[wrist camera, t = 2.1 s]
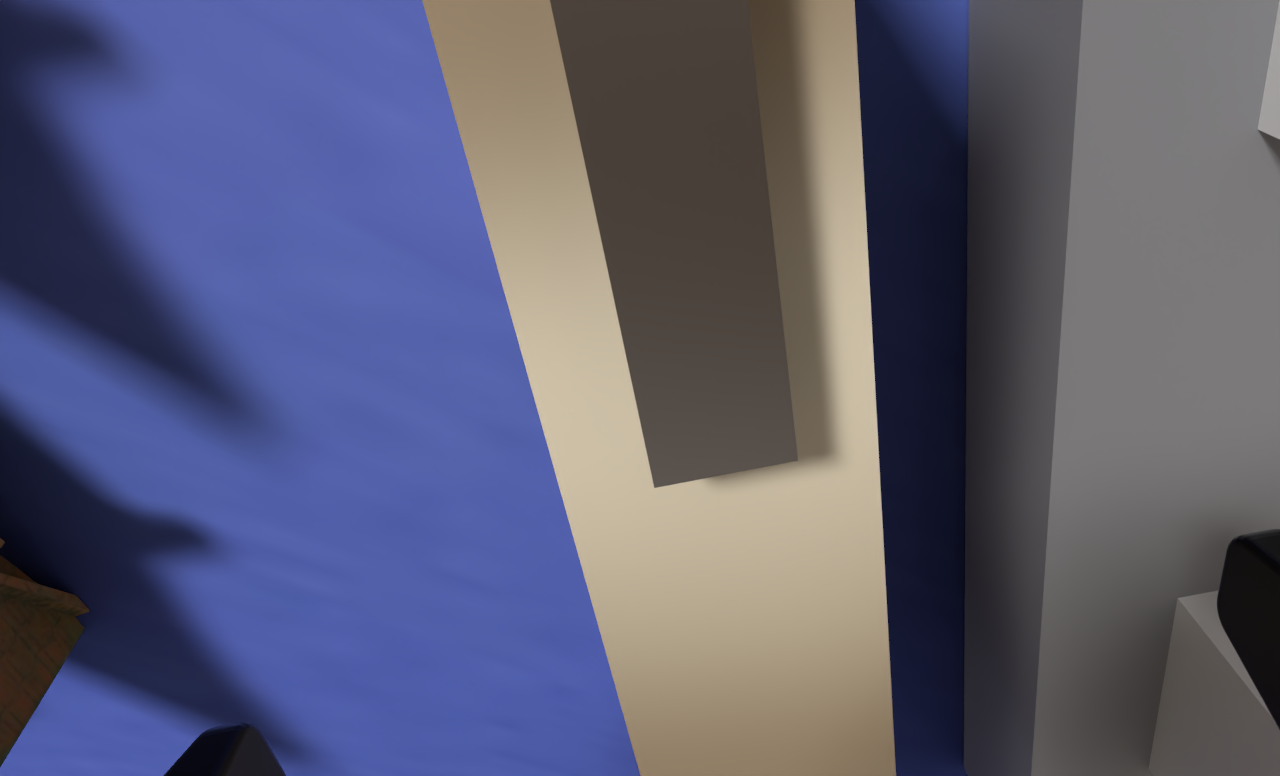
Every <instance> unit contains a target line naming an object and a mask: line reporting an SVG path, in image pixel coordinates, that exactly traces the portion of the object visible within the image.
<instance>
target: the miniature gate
mask: <svg viewBox="0 0 1280 776" xmlns="http://www.w3.org/2000/svg"><path fill="white" fill-rule="evenodd" d="M4 543H5V542H4V541H3V540H2V539H1V538H0V548H1V547H2V546H3V544H4ZM89 611H90V610H89V609H88V608H87V607H86V605H85V604H84V603H83V602H82V601H81V600H80V599H79V598H78V597H77V596H76V595H73V594H70V593H67V592H63V591H60V590H56V589H53V588H50V587H46V586H43V585H40V584H38V583H36V582H35V581H34V580H32V579H31V578H30V577H28V576H27V575H26V574H25V573H23V572H22V571H21V570H19V569H18V568H17V567H15V566H14V565H13V564H12V563H10V562H9V561H8V560H6V559H5V558H4V557H2V556H1V555H0V767H1V765H2V764H3V762H4V760H5V759H6V757H7V755H8V754H9V752H10V750H11V749H12V747H13V746H14V744H15V742H16V741H17V739H18V737H19V736H20V734H21V732H22V731H23V729H24V728H25V726H26V724H27V723H28V721H29V719H30V718H31V716H32V714H33V713H34V711H35V710H36V708H37V706H38V705H39V703H40V701H41V700H42V698H43V697H44V695H45V693H46V692H47V690H48V688H49V687H50V685H51V683H52V682H53V680H54V679H55V677H56V675H57V674H58V672H59V670H60V669H61V667H62V665H63V664H64V662H65V661H66V659H67V657H68V656H69V654H70V652H71V651H72V649H73V647H74V646H75V644H76V643H77V641H78V639H79V638H80V636H81V634H82V633H83V631H84V630H85V628H84V627H83V626H82V625H81V623H80V622H79V621H78V620H77V618H76V616H79V615H81V614H84V613H86V612H89Z"/></svg>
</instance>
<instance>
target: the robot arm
mask: <svg viewBox="0 0 1280 776" xmlns="http://www.w3.org/2000/svg"><path fill="white" fill-rule="evenodd" d="M1217 611H1218V616H1219V619H1220V622H1221V625H1222V627H1223V629H1224V631H1225V633H1226V635H1227V636H1228V638H1229V640H1230V642H1231V644H1232V645H1233V647H1234V649H1235V651H1236V653H1237V654H1238V656H1239V658H1240V660H1241V662H1242V663H1243V665H1244V667H1245V669H1246V671H1247V672H1248V674H1249V676H1250V678H1251V680H1252V681H1253V683H1254V685H1255V687H1256V689H1257V690H1258V692H1259V694H1260V696H1261V698H1262V699H1263V701H1264V703H1265V705H1266V707H1267V708H1268V710H1269V712H1270V714H1271V716H1272V717H1273V719H1274V721H1275V723H1276V725H1277V726H1278V728H1279V730H1280V529H1270V530H1264V531H1259V532H1254V533H1248V534H1243V535H1239V536H1236V537H1234V538H1233V539H1232V540H1231V542H1230V543H1229V544H1228V547H1227V551H1226V556H1225V561H1224V566H1223V571H1222V576H1221V581H1220V586H1219V591H1218V596H1217ZM164 776H286V775H285V773H284V771H283V769H282V767H281V766H280V764H279V762H278V761H277V759H276V757H275V756H274V754H273V752H272V750H271V749H270V747H269V745H268V744H267V742H266V740H265V739H264V737H263V735H262V734H261V732H260V730H259V729H258V728H257V726H255V725H254V724H252V723H250V722H240V723H235V724H230V725H224V726H219V727H214V728H211V729H208V730H206V731H205V732H203V733H202V734H201V735H200V736H199V737H198V738H197V739H196V740H195V741H194V742H193V743H192V744H191V746H190V747H189V748H188V749H187V750H186V751H185V752H184V753H183V755H182V756H181V757H180V758H179V759H178V760H177V761H176V762H175V764H174V765H173V766H172V767H171V768H170V769H169V770H168V771H167V773H166V774H165V775H164Z"/></svg>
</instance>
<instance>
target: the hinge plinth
mask: <svg viewBox="0 0 1280 776" xmlns="http://www.w3.org/2000/svg"><path fill="white" fill-rule="evenodd" d="M1270 529H1280V0H969V43H968V194H967V345H966V496H965V647H964V769H965V771H966V773H967V776H1280V730H1279V728H1278V726H1277V725H1276V723H1275V721H1274V719H1273V717H1272V716H1271V714H1270V712H1269V710H1268V708H1267V707H1266V705H1265V703H1264V701H1263V699H1262V698H1261V696H1260V694H1259V692H1258V690H1257V689H1256V687H1255V685H1254V683H1253V681H1252V680H1251V678H1250V676H1249V674H1248V672H1247V671H1246V669H1245V667H1244V665H1243V663H1242V662H1241V660H1240V658H1239V656H1238V654H1237V653H1236V651H1235V649H1234V647H1233V645H1232V644H1231V642H1230V640H1229V638H1228V636H1227V635H1226V633H1225V631H1224V629H1223V627H1222V625H1221V622H1220V619H1219V616H1218V611H1217V596H1218V591H1219V586H1220V581H1221V576H1222V571H1223V566H1224V561H1225V556H1226V551H1227V547H1228V544H1229V543H1230V542H1231V540H1232V539H1233V538H1234V537H1236V536H1239V535H1243V534H1248V533H1254V532H1259V531H1264V530H1270Z"/></svg>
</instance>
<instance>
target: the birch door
mask: <svg viewBox="0 0 1280 776" xmlns="http://www.w3.org/2000/svg"><path fill="white" fill-rule="evenodd" d="M422 1H423V5H424V8H425V12H426V15H427V19H428V22H429V26H430V30H431V33H432V37H433V40H434V44H435V47H436V51H437V54H438V58H439V62H440V65H441V69H442V72H443V76H444V79H445V83H446V86H447V90H448V94H449V97H450V101H451V104H452V108H453V111H454V115H455V118H456V122H457V125H458V129H459V133H460V136H461V140H462V143H463V147H464V150H465V154H466V157H467V161H468V165H469V168H470V172H471V175H472V179H473V182H474V186H475V189H476V193H477V197H478V200H479V204H480V207H481V211H482V214H483V218H484V221H485V225H486V228H487V232H488V236H489V239H490V243H491V246H492V250H493V253H494V257H495V260H496V264H497V268H498V271H499V275H500V278H501V282H502V285H503V289H504V292H505V296H506V299H507V303H508V307H509V310H510V314H511V317H512V321H513V324H514V328H515V331H516V335H517V339H518V342H519V346H520V349H521V353H522V356H523V360H524V363H525V367H526V371H527V374H528V378H529V381H530V385H531V388H532V392H533V395H534V399H535V402H536V406H537V410H538V413H539V417H540V420H541V424H542V427H543V431H544V434H545V438H546V442H547V445H548V449H549V452H550V456H551V459H552V463H553V466H554V470H555V473H556V477H557V481H558V484H559V488H560V491H561V495H562V498H563V502H564V505H565V509H566V513H567V516H568V520H569V523H570V527H571V530H572V534H573V537H574V541H575V545H576V548H577V552H578V555H579V559H580V562H581V566H582V569H583V573H584V576H585V580H586V584H587V587H588V591H589V594H590V598H591V601H592V605H593V608H594V612H595V616H596V619H597V623H598V626H599V630H600V633H601V637H602V640H603V644H604V647H605V651H606V655H607V658H608V662H609V665H610V669H611V672H612V676H613V679H614V683H615V687H616V690H617V694H618V697H619V701H620V704H621V708H622V711H623V715H624V719H625V722H626V726H627V729H628V733H629V736H630V740H631V743H632V747H633V750H634V754H635V758H636V761H637V765H638V768H639V772H640V775H641V776H896V765H895V747H894V728H893V709H892V690H891V672H890V653H889V634H888V616H887V597H886V578H885V560H884V541H883V522H882V503H881V485H880V466H879V447H878V429H877V410H876V391H875V373H874V354H873V335H872V316H871V298H870V279H869V260H868V242H867V223H866V204H865V186H864V167H863V148H862V129H861V111H860V92H859V73H858V55H857V36H856V17H855V0H422Z"/></svg>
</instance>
